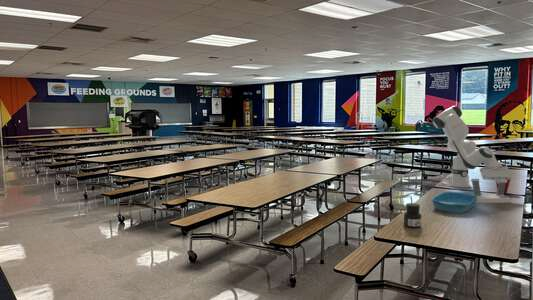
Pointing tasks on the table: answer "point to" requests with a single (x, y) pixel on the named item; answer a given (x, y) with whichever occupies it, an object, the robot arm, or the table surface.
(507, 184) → the plastic cup
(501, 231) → the table surface
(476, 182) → the lever
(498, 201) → the switch panel
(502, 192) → the lever
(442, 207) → the casserole dish
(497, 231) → the table surface
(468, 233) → the table surface
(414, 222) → the ink bottle
